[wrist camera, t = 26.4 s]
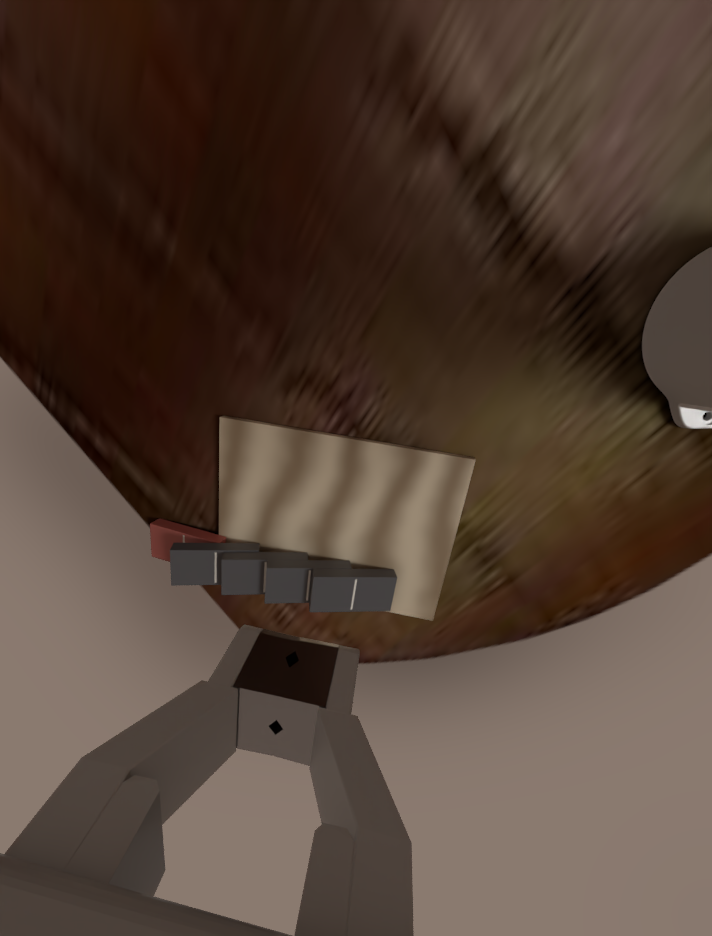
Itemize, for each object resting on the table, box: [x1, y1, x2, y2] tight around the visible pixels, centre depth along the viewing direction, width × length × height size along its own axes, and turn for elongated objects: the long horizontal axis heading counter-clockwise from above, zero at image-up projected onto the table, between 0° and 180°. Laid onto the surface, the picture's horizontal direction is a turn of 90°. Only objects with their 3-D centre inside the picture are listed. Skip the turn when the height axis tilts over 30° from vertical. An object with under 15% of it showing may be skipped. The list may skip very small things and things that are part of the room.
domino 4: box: [309, 568, 397, 612], centre depth 41 cm, size 2×5×10 cm
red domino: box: [150, 518, 226, 562], centre depth 45 cm, size 2×5×10 cm
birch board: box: [219, 416, 476, 621], centre depth 42 cm, size 29×22×1 cm
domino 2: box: [221, 552, 308, 595], centre depth 42 cm, size 2×5×10 cm
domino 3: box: [265, 560, 352, 603], centre depth 42 cm, size 2×5×10 cm
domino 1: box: [170, 543, 260, 585], centre depth 42 cm, size 2×5×10 cm
